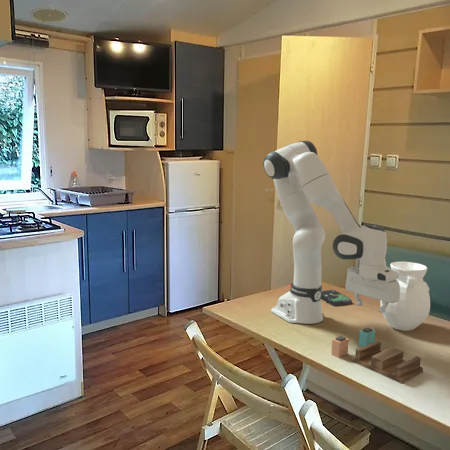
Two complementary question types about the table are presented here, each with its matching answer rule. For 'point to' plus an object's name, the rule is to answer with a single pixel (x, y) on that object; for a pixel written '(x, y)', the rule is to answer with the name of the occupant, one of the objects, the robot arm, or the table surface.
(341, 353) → the orange rectangular block
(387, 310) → the pitcher
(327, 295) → the disk drive
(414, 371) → the brown slotted tray
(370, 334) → the teal box with panel
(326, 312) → the table surface
